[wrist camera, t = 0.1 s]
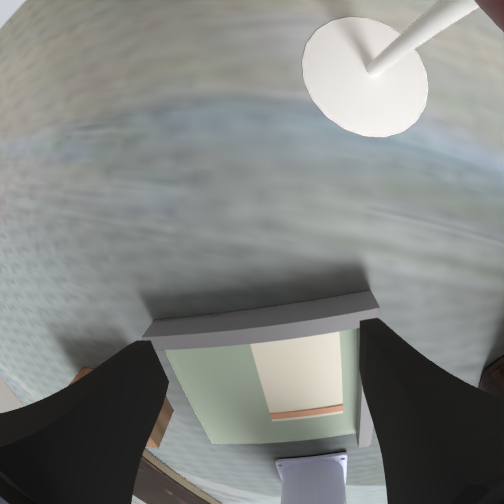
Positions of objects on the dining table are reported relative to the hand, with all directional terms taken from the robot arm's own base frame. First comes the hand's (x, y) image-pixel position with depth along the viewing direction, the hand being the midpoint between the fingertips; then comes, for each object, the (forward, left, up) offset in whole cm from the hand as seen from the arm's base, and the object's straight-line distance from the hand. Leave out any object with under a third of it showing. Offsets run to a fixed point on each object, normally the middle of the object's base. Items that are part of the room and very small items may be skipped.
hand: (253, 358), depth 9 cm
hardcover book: (-35, +25, -11) cm, 44 cm away
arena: (-12, +2, -10) cm, 16 cm away
